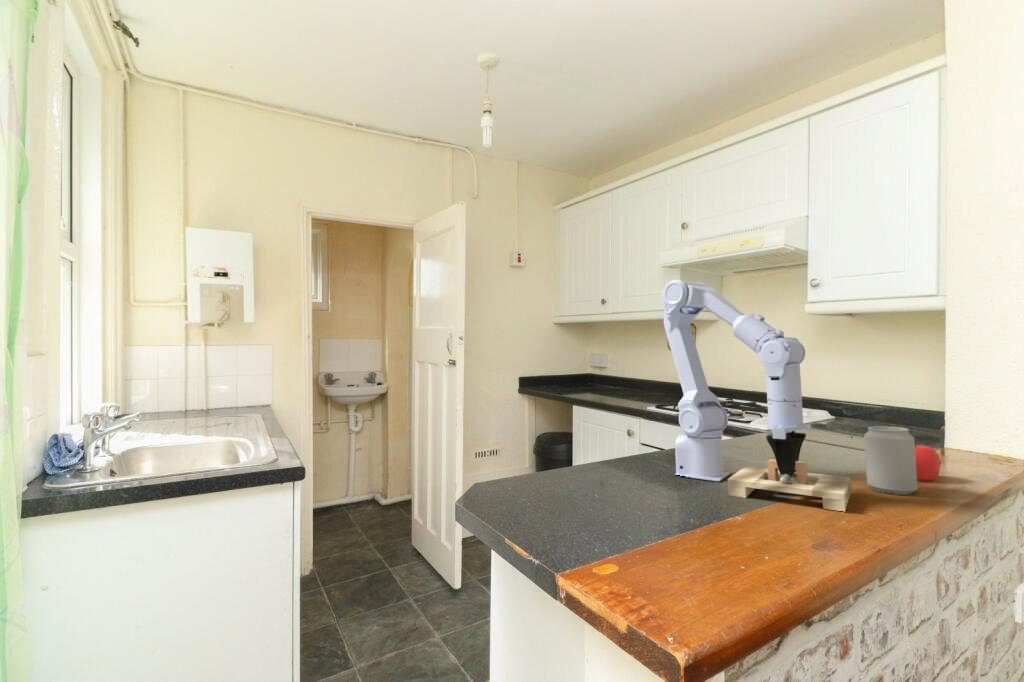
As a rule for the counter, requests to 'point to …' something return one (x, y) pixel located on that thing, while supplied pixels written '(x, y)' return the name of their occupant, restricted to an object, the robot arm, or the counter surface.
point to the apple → (926, 463)
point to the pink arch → (799, 466)
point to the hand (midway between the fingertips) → (788, 472)
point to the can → (890, 460)
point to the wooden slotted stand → (792, 486)
